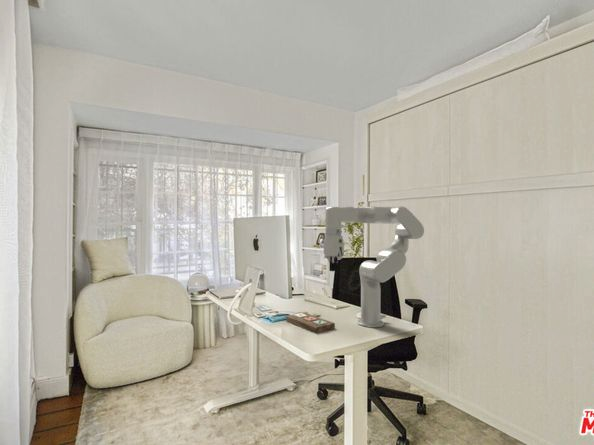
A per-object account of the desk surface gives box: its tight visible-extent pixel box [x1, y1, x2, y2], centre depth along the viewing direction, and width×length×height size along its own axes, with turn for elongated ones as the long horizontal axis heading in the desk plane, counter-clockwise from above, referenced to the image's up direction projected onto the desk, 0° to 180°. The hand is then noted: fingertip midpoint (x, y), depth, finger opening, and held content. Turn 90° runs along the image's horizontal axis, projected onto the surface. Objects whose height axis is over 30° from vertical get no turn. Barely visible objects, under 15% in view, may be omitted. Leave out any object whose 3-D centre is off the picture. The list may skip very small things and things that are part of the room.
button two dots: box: [303, 317, 317, 322], centre depth 162 cm, size 5×5×3 cm
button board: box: [285, 312, 336, 334], centre depth 162 cm, size 12×23×2 cm, turn 37°
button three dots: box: [312, 320, 327, 326], centre depth 156 cm, size 5×5×3 cm
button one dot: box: [293, 312, 307, 318], centre depth 168 cm, size 5×5×3 cm
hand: (333, 270), depth 158 cm, fingers closed
